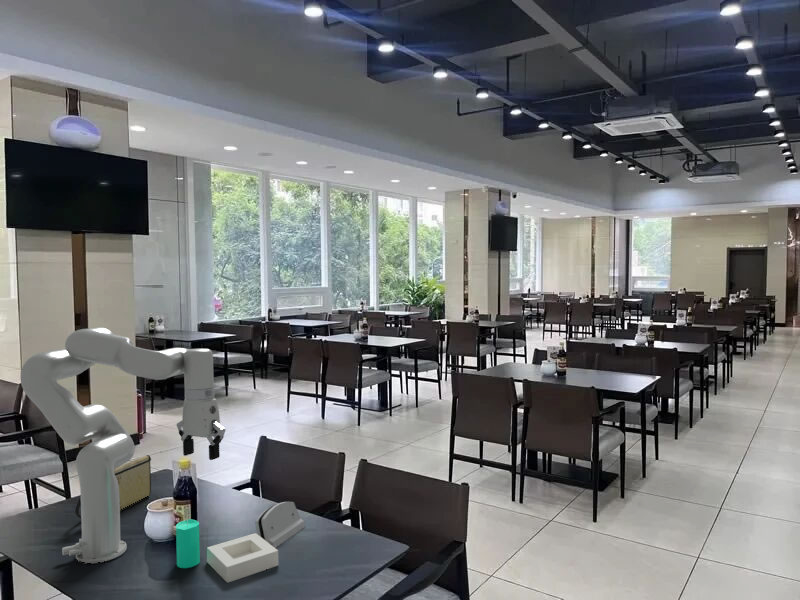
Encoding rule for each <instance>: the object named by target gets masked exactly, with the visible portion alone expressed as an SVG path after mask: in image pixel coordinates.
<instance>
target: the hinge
mask: <svg viewBox="0 0 800 600" xmlns="http://www.w3.org/2000/svg"><path fill="white" fill-rule="evenodd" d="M305 526H306V522H305V521H304V520H303V519H302V518H301V517H300V514H299V511H298V509H297V507H296V504H295V502H294V501H282V502H279V503H274V504H273V505H271V506H269V507H268V508H266V509H265V510H264V511H262V512H261V514H259V516H258V517H257V518H256V520H255V529H256V534H258V535H259V536H260V537H261V538H263V539H264V540H265V541H267V542H268V543H269V544H270V545H272V546H273V547H274V548H276V549H277V547H279V546H281V545H282V544H284V542H286V541H287V540H289V539H291V538H292V536H294V535H295V534H297V533H299V532H300V531H301V530H303V529H305V528H306V527H305Z"/></svg>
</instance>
